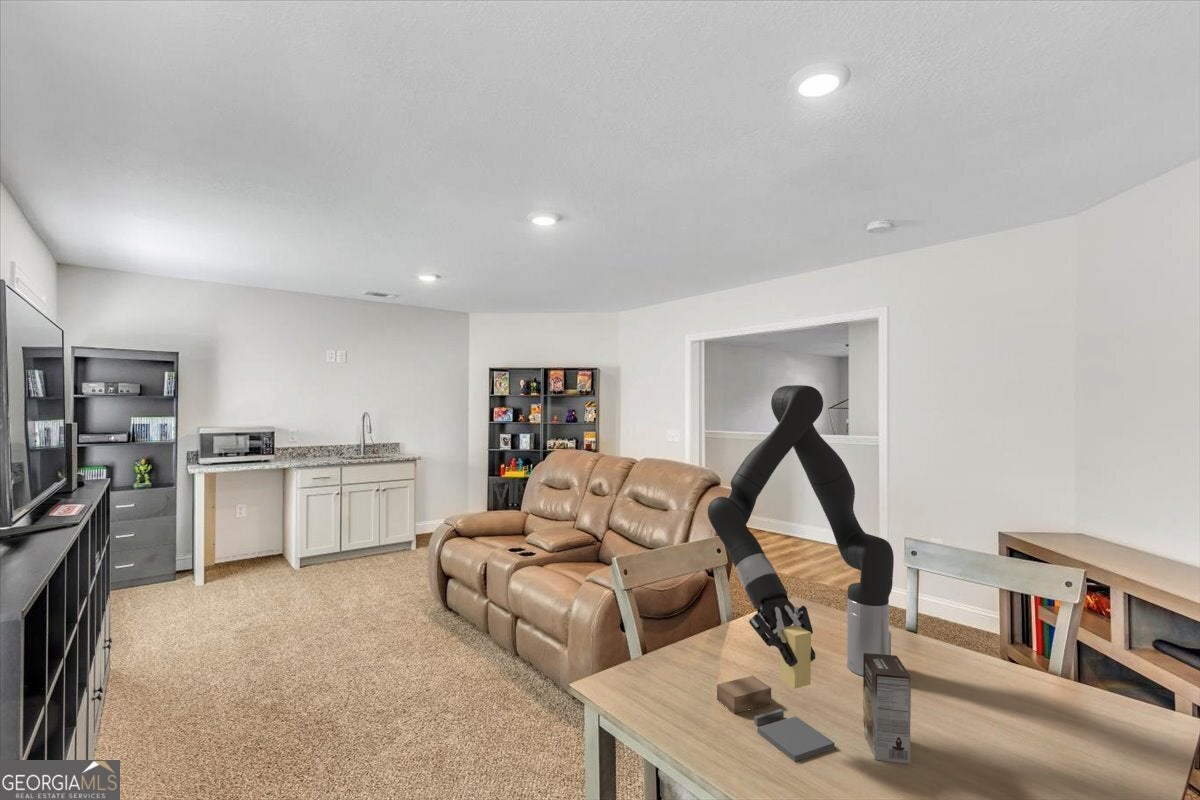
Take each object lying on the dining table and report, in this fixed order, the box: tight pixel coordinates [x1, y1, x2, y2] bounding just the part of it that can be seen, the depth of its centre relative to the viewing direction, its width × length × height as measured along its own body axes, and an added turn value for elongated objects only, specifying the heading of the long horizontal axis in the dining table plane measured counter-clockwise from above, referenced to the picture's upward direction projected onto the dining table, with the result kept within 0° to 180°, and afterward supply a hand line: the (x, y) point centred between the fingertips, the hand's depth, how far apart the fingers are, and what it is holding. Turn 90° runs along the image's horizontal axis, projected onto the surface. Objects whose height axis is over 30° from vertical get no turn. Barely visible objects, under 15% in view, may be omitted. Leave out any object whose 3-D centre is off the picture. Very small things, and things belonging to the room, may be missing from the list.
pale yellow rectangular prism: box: [779, 624, 812, 689], centre depth 109 cm, size 4×4×10 cm
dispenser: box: [716, 675, 785, 727], centre depth 121 cm, size 10×11×4 cm
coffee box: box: [862, 653, 912, 765], centre depth 107 cm, size 9×6×16 cm
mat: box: [757, 715, 836, 763], centre depth 109 cm, size 10×10×1 cm
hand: (802, 662), depth 108 cm, fingers closed on pale yellow rectangular prism, 4 cm apart
